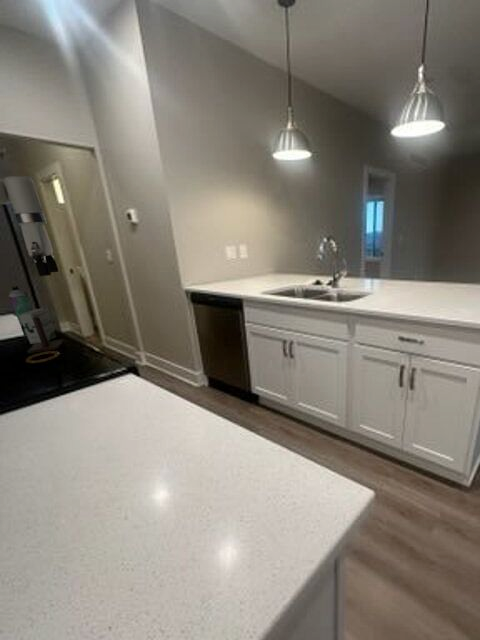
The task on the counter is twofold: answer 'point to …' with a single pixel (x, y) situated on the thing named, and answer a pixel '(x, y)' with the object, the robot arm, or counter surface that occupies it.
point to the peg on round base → (43, 339)
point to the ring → (42, 359)
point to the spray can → (20, 304)
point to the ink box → (30, 326)
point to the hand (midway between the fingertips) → (49, 273)
